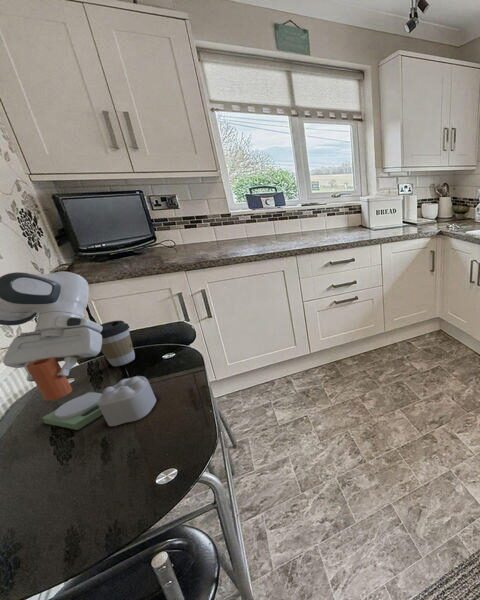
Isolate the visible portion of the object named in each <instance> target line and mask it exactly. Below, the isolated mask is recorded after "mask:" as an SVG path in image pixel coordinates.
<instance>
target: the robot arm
mask: <svg viewBox="0 0 480 600" xmlns="http://www.w3.org/2000/svg"><path fill="white" fill-rule="evenodd" d="M89 297H90V286H89V283H88V281H87V280H86V279H85V277H83V276H81V275H79V274H77V273H74V272H70V271H63V270H61V271H56V272H52V273H45V274H43V273H39V274H37V273H28V272H19V271H17V272H10V273H5V274H3V275H1V276H0V325H1V326H10V327H11V326H19V325H24V324H26V323H29V322H30V321H32V320H34V318H35V317H36V316H37V314H38V317H37V321H36V324H35V328H34V331H30V332H22V333H20V334H19V335H18V336H17V335H16V337H14V338H13V339H12V342H11V343H10V345H9V346H8V348H7V350H6V351H5V355H4V357H3V359H2V364H3V365H4V366H6V367H9V368H13V369H20V368H21V369H22V368H24V370H25V372H26V373H27V376H26V381H27V382H31V383H33V382H35V381H34V379H33V378H32V376H31V374H30V373H29V371H28V369H27V367H26V366H27V365H28V364H29V363H31V362H33V361H36V360H39V359H46V358H52V357H55V358H56V359H57V361H58V363H61V362H64V364H63V365H62V366H61V369H58V370H57V376H60V377H63V376H66V377H68V376H69V375H70V371H71V370H72V368H73V367H74V366H75V365H76V364H77V361H78V359H79V360H80V359H85V358H92V357H97V356H98V355H99V354H100V353H101V352H102V351H101V346H102V335H101V334H100V332H102V329H103V327H102V326H101V324H99V323H97V322H95V321H92V320H90V319H87V318H85V310H86V309H87V307H88V303H89Z"/></svg>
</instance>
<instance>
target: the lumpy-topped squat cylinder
mask: <svg viewBox="0 0 480 600" xmlns="http://www.w3.org/2000/svg"><path fill="white" fill-rule="evenodd" d="M102 394H103V395H102V396H101V397H100V399H99V400H98V402H97V404H98V406H99V408H100V410H101V412H102V414H103V415H102V416H103V418H104V420H105V421H106V423H107V426H109V427H116V426H119V425H122V424H125V423H131V422H137V421H139V420H141V419H143V418H144V417H146V416H147V415H148V414H149V413H150V412H151V411H152V409H153V408H154V406H155V405H156V403H157V398H156V395H155V394H154V391H153V389H152V387H151V384H150V382H149V380H148V379H147V378H146V376H141V375H136V376H131V377H127V378H123V379H121V380H119V381H118V382H117V383H116V384H114V385H111V386H107V387H105V388H104V389H103V391H102Z"/></svg>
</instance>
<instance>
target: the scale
mask: <svg viewBox="0 0 480 600" xmlns="http://www.w3.org/2000/svg"><path fill="white" fill-rule="evenodd" d="M102 395H103V392H102V393H101V392H94V391H88V392H86V393H84V394H82V395H79V396H77V397H75V398H73V399H69V400H68V401H67V402H65V403H63V404H61V405H60V406H59V407H58V408H56V409H55V410H53V411H51V412H49V413H48V414H46V415H44V416H42V417H41V419H42V421H43V423H44V424H47V425H51V426H57V427H61V428H66V429H72V430H76V431H79V430H80V429H82V428H84V427H85V426H87V425H88V424H90V423H92V422H93V421H95V420H96V419H98V418H100V417H101V416H103V414H102V412H101V410H100V408H99V406H98V404H97V402H98V400H99V399H100V397H101V396H102Z"/></svg>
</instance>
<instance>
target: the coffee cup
mask: <svg viewBox="0 0 480 600" xmlns="http://www.w3.org/2000/svg"><path fill="white" fill-rule="evenodd" d="M100 325H101V326H102V327H103V329H102V332H100V334H101V335H102V346H101V351H100V352H101V353H102V355H104V356H105V359H106V360H107V361H108V363H109V364H110V365H111V366H112V367H120V366H124V365H127V364H129V363H131V362H133V361H134V360H135V358H136V353H135V350H134V346H133V341H132V338H131V334H130V327H131V326H129V323H125V321H123V320H111V321H108V322H103V323H101V324H100Z"/></svg>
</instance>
